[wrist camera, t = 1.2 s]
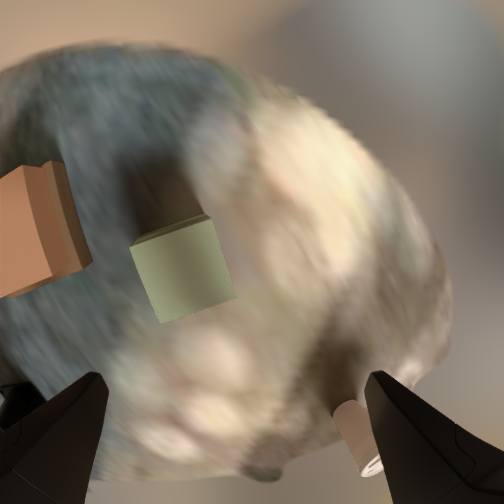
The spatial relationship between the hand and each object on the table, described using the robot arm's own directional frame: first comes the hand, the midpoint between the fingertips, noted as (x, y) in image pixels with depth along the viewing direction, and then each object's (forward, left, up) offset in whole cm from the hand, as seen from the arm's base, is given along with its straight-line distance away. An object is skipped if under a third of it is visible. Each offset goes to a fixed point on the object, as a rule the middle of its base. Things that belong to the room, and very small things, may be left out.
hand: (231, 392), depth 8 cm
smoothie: (+10, -23, -14) cm, 29 cm away
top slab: (-12, +8, -11) cm, 18 cm away
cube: (-1, +2, -14) cm, 14 cm away
